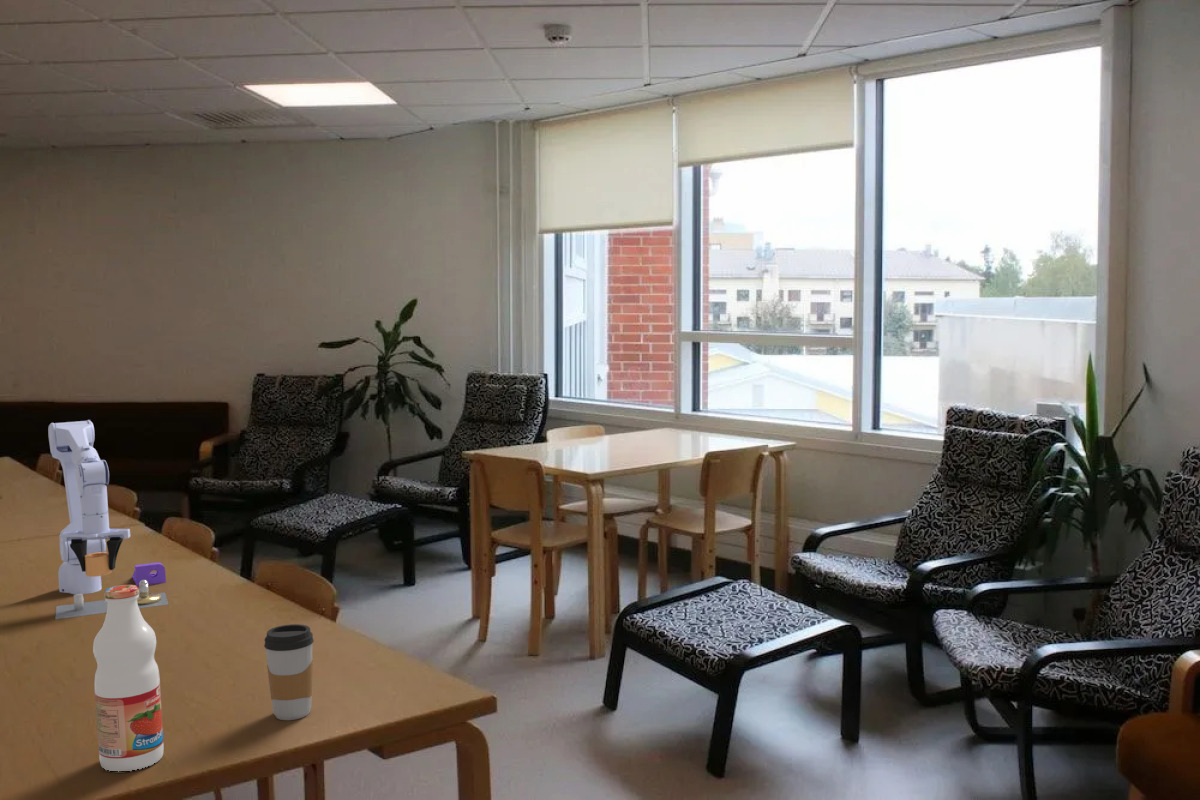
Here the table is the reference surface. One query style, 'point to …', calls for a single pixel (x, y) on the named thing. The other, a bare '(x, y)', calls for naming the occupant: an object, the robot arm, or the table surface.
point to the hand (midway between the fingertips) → (98, 569)
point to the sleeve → (97, 564)
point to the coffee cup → (290, 670)
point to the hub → (146, 594)
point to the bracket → (144, 573)
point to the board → (93, 607)
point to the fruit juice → (127, 686)
